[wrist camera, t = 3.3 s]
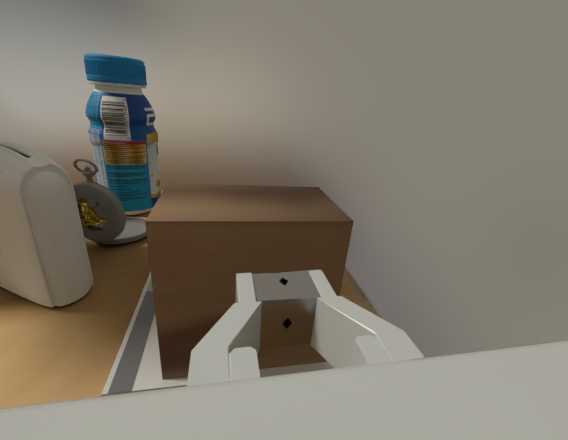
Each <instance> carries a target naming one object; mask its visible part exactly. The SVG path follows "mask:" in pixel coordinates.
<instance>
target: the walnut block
mask: <svg viewBox="0 0 568 440" xmlns="http://www.w3.org/2000/svg"><path fill="white" fill-rule="evenodd" d="M145 224H146V233H147V243H148V252H149V261H150V270H151V279H152V288H153V297H154V307H155V316H156V325H157V334H158V343H159V352H160V361H161V371H162V380H165V379H174V378H183V377H188V372H189V365H190V357H191V351H192V350H193V349H194V347H195V346H196V345H197V344H198V343H199V342H200V341H201V340H202V338H203V337H204V336H205V335H206V334H207V333H208V332H209V331H210V330H211V328H212V327H213V326H214V325H215V324H216V323H217V322H218V321H219V320H220V318H221V317H222V316H223V315H224V314H225V313H226V312H227V311H228V309H229V308H230V307H231V306H232V305H233V304H234V303H236V273H257V272H293V271H306V270H318V269H320V270H322V272H323V273H324V275H325V277H326V278H327V280H328V282H329V283H330V285H331V287H332V288H333V290H334V292H335V293H336V295H337V296H339V293H340V288H341V283H342V278H343V272H344V267H345V262H346V257H347V251H348V247H349V241H350V236H351V230H352V226H353V220H352V219H350V217H348V216H347V215H346V214H345V213H344V212H343V211H342V210H341V209H340V208H339V207H338V206H337V205H336V204H335V203H334V202H333V201H332V200H331V199H330V198H329V197H328V196H327V195H326V194H325V193H324V192H323V191H322V190H321V189H320V188H319V187H287V186H249V185H247V186H246V185H210V184H175V183H174V184H172V183H168V184H167V185H166V187H165V189H164V191H163V192H162V194H161V195H160V197H159V199H158V200H157V202H156V204H155V206H154V207H153V209H152V211H151V212H150V214H149V216H148V217H147V219H146V221H145ZM257 358H258V365H259V369H266V368H275V367H284V366H293V365H303V364H312V363H321V362H326V359H324V358H323V357H322V356H321V355H320V354H319V353H318V352H317V351H316V350H315V349H314V348H313V347H312V346H311V345H310V344H302V345H288V346H279V347H271V348H263V349H259V352H258V354H257Z"/></svg>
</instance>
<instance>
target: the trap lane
mask: <svg viewBox="0 0 568 440" xmlns="http://www.w3.org/2000/svg"><path fill="white" fill-rule="evenodd" d="M333 368H334V367H333V366H332V365H331V364H330V363H329V362H328V361H327V360H326V362H321V363H312V364H303V365H293V366H284V367H275V368H266V369H259V372H260V377H267V376H275V375H284V374H292V373H300V372H309V371H317V370H325V369H333ZM187 380H188V377H183V378H174V379H165V380H162V371H161V361H160V352H159V343H158V334H157V325H156V316H155V307H154V297H153V288H152V279H151V271H150V274H149V276H148V279H147V281H146V284H145V286H144V289H143V291H142V294H141V296H140V299H139V301H138V304H137V306H136V309H135V311H134V314H133V316H132V319H131V321H130V324H129V326H128V329H127V331H126V334H125V336H124V339H123V341H122V344H121V346H120V349H119V351H118V354H117V356H116V359H115V362H114V364H113V367H112V369H111V372H110V374H109V377H108V379H107V382H106V384H105V387H104V389H103V392H102V394H101V395H102V396H108V395H117V394H125V393H133V392H142V391H150V390H158V389H167V388H175V387H183V386H187Z"/></svg>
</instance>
